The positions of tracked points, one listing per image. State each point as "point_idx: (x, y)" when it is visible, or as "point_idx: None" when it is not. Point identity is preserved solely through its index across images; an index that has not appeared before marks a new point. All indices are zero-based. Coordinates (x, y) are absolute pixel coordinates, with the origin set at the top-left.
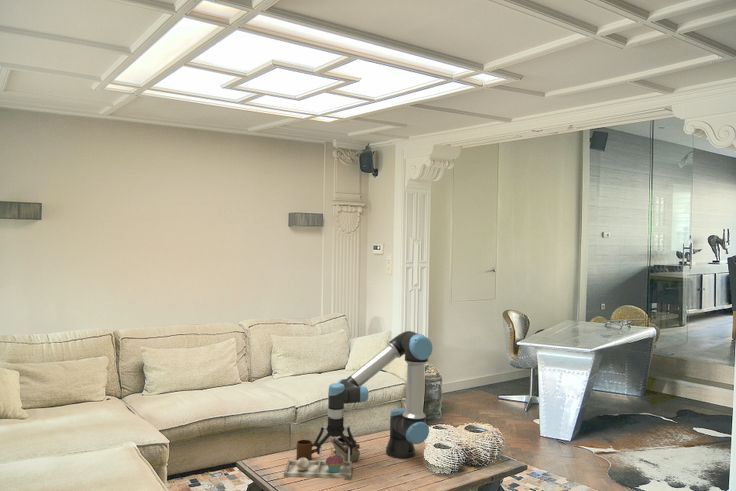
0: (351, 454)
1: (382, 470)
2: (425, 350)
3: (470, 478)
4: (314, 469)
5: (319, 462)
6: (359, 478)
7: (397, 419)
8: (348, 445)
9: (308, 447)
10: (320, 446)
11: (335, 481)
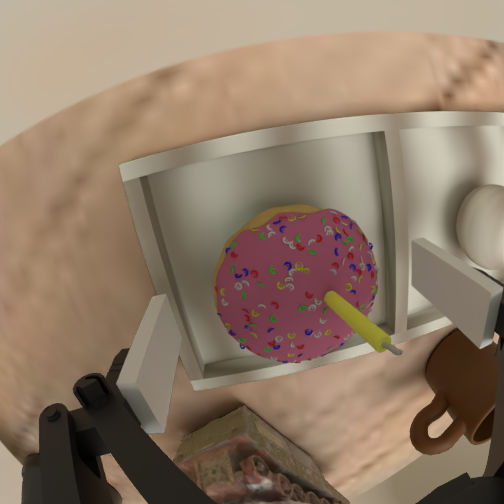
0: (124, 352)
1: (29, 350)
2: None
3: None
4: None
5: (401, 321)
6: (85, 206)
7: None
8: (128, 419)
9: (485, 390)
10: (489, 339)
11: (235, 100)
